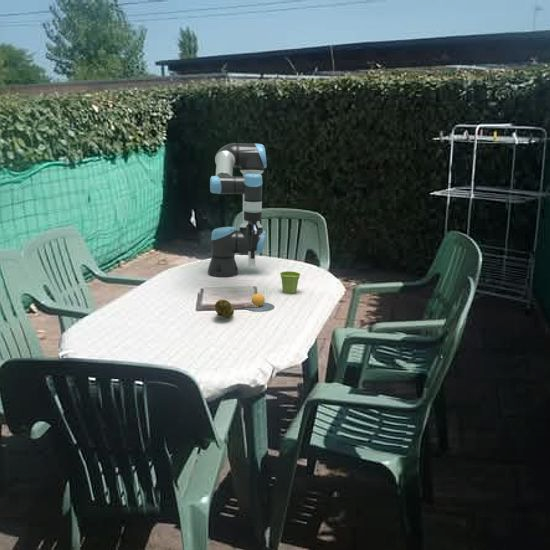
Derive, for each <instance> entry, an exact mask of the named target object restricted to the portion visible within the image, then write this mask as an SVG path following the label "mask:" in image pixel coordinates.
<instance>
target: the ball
mask: <svg viewBox="0 0 550 550" xmlns="http://www.w3.org/2000/svg"><path fill="white" fill-rule="evenodd" d="M251 302H252V303H253V304H254V305H256V306H262V305H263V304H264V302H266V299H265V296H264V295H263V294H262V293H255V294H253V295H252V297H251Z"/></svg>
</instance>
